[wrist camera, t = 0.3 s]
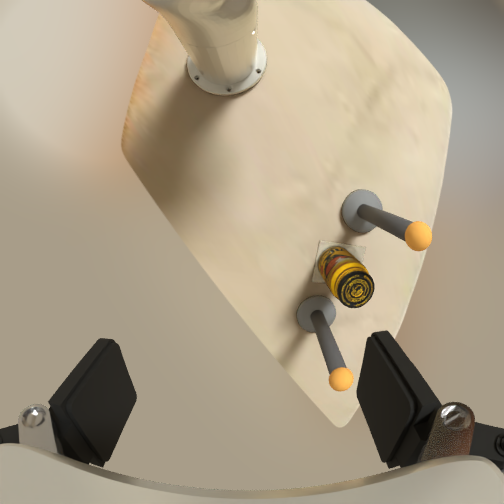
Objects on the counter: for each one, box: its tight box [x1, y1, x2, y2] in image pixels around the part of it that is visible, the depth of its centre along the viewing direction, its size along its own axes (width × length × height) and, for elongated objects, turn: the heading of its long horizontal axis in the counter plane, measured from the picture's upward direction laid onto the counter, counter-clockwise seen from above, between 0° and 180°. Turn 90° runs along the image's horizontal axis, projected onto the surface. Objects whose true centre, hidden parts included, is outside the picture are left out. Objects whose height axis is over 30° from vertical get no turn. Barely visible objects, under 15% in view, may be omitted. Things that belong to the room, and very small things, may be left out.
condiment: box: [312, 241, 374, 308], centre depth 40 cm, size 7×8×12 cm
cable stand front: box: [342, 189, 432, 251], centre depth 34 cm, size 7×7×20 cm
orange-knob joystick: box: [297, 296, 354, 391], centre depth 39 cm, size 7×7×20 cm
